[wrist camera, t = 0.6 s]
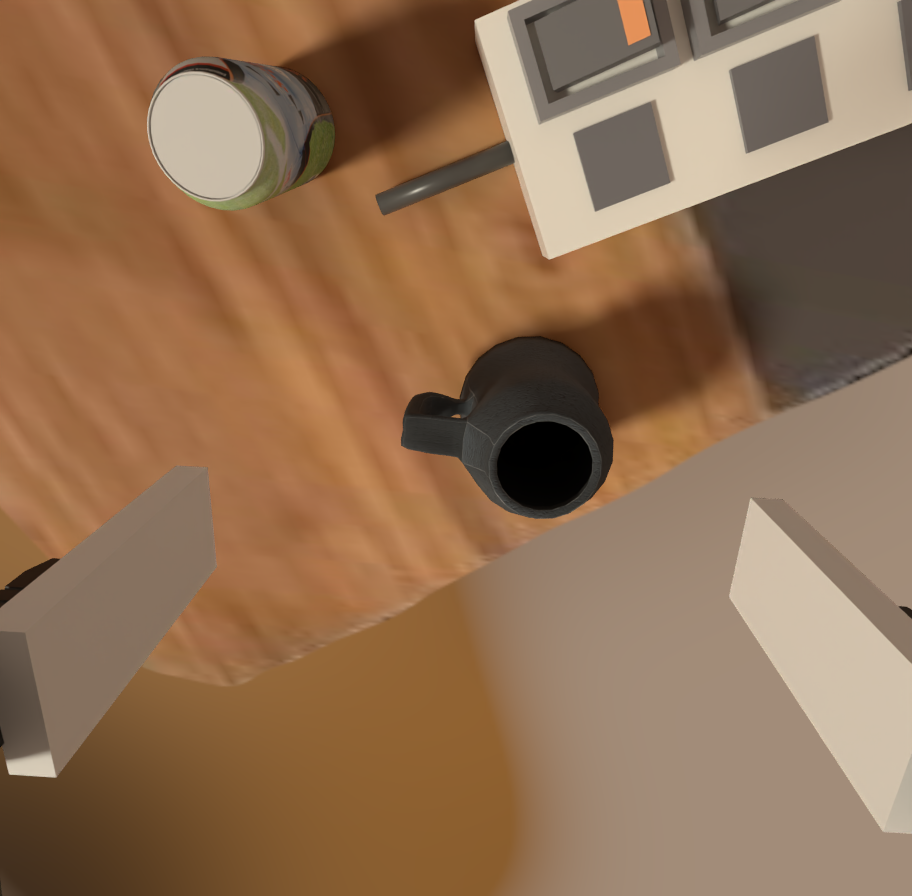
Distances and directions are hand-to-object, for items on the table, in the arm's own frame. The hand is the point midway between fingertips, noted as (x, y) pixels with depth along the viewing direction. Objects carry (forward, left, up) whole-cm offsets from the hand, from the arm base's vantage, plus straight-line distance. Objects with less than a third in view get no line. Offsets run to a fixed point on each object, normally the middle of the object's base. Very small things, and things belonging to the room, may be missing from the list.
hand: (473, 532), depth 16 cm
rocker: (-12, +10, -21) cm, 26 cm away
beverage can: (-14, -7, -27) cm, 31 cm away
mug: (+5, 0, -27) cm, 27 cm away
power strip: (-9, +14, -27) cm, 32 cm away
